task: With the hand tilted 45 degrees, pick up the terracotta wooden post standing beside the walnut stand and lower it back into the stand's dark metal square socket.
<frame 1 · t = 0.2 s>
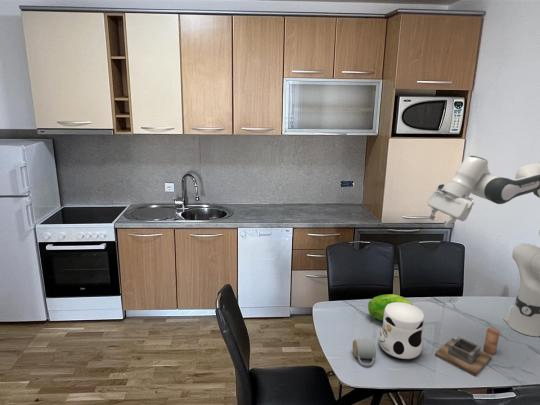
hand: (437, 222, 156), 54 cm above the table, tool tilted 30°, fingers open, 8 cm apart
milk container: (399, 350, 163), on the table
post: (489, 351, 164), on the table
lettuce: (389, 319, 186), on the table
stand: (462, 357, 160), on the table
ceramic mug: (364, 359, 157), on the table
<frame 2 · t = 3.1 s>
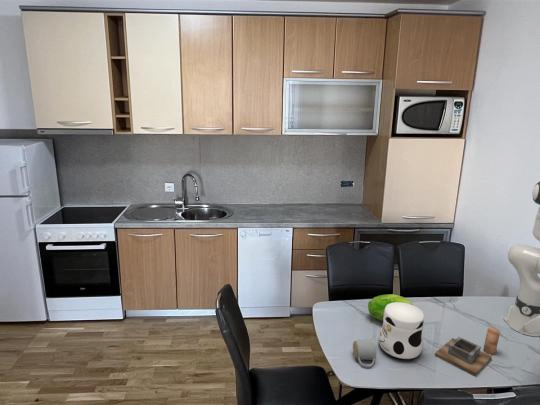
hand: (526, 329, 150), 18 cm above the table, tool tilted 40°, fingers open, 8 cm apart
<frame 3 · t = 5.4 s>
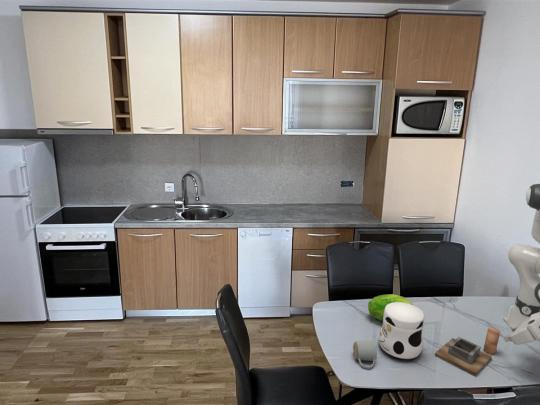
hand: (509, 335, 157), 11 cm above the table, tool tilted 45°, fingers open, 8 cm apart
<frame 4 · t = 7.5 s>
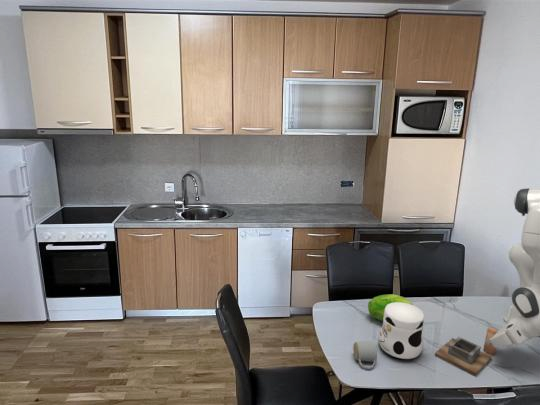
hand: (490, 338, 163), 6 cm above the table, tool tilted 45°, fingers closed on post, 4 cm apart
post: (489, 351, 164), on the table, touching gripper
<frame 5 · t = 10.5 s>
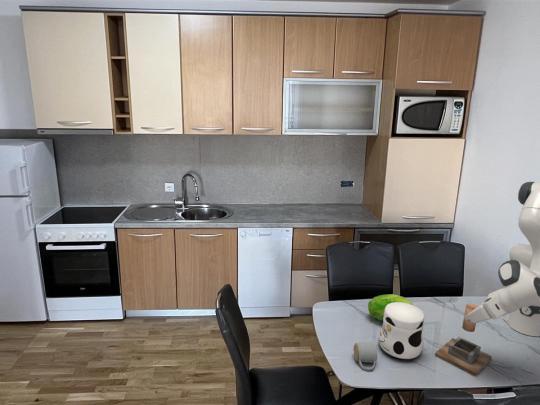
hand: (469, 315, 155), 19 cm above the table, tool tilted 45°, fingers closed on post, 4 cm apart
post: (468, 328, 156), point 13 cm above the table, touching gripper
when the fingers open (8 cm above the table, at t = 13.3 s): post stays where it is, resting on stand.
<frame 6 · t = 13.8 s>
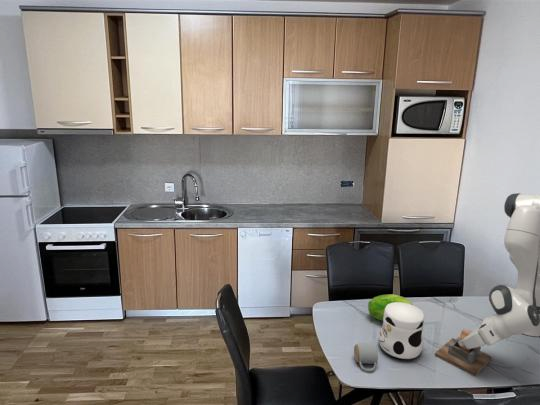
hand: (464, 338, 158), 8 cm above the table, tool tilted 45°, fingers open, 8 cm apart
post: (463, 354, 159), point 2 cm above the table, touching stand
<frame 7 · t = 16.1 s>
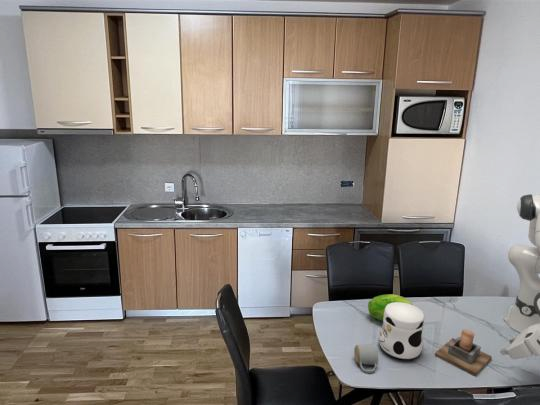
hand: (506, 347, 148), 11 cm above the table, tool tilted 45°, fingers open, 8 cm apart
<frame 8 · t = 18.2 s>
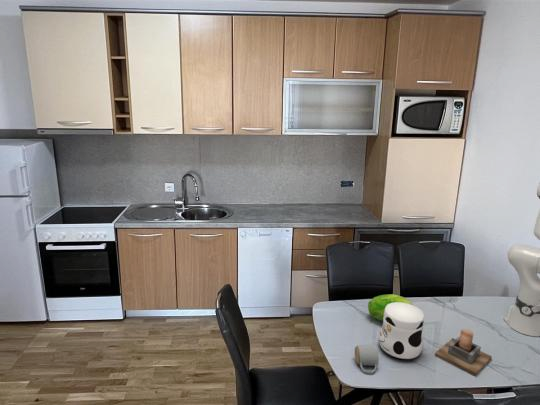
hand: (537, 305, 144), 29 cm above the table, tool tilted 45°, fingers open, 8 cm apart
at the end: post 0.1 cm off-centre on the stand, point 1.6 cm above the stand's base; post tilted 1°; the gripper is holding nothing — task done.
